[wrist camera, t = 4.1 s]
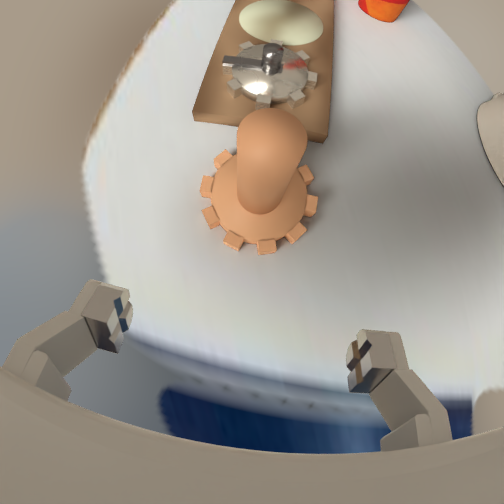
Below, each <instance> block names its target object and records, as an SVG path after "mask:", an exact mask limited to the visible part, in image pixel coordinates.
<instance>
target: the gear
mask: <svg viewBox="0 0 504 504" xmlns="http://www.w3.org/2000/svg"><path fill="white" fill-rule="evenodd" d="M282 43H283V41H279V40H274V39H271V40H270V43H268V44H260V45H253V44H252V43H251V42H250V41H248V42H245V43H243V44H240V45H239V54H238V55H237V56H227V55H224V58H223V61H222V64H223V74H225V75H232V80H230V81H228V82H227V91H228V92H229V93H230V95H231V96H232V97H233V98H234V99H235V98H237V97H239V96H241V95H244V96H245V97H247V98H248V99H250V100H253V101H255V102H256V106H255V110H259V109H263V108H270V104H282V103H286V102H287V103H288V105H289V106H290V107H291V108H292V109H294V108H296V107H298V106H300V105H302V104H303V102H304V99H305V95H304V94H303V93H302V92H303V90H304V88H307V89H311V90H314V87H315V85H316V82H317V73H315V72H310V71H308V68H307V66H308V63H309V59H310V57H309V56H308V55H307V54H306V53H305V52H304V51H303V50H301V51H299V52H296V53H295V52H294V51H292V50H290V49H288V48H285V47H282Z"/></svg>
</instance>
